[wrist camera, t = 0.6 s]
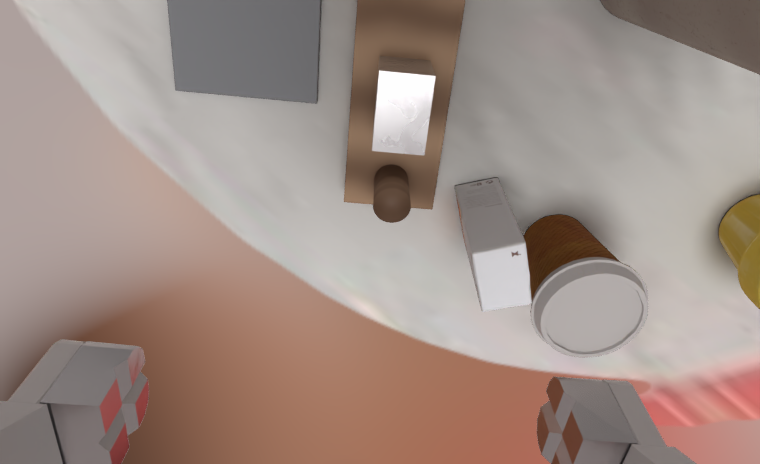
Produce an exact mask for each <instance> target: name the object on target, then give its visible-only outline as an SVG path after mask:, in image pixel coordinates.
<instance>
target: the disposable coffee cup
mask: <svg viewBox="0 0 760 464" xmlns="http://www.w3.org/2000/svg"><path fill="white" fill-rule="evenodd" d="M524 240H525V242H526V249H527V257H528V266H529V272H530V288H531V298H532V305H531V311H530V312H531V321H532V325H533V327H534V329H535V331H536V333H537V334H538V336H539V337H540V338H541V339H542V340H543V341H545V342H546V343H547V344H549V345H550V346H551V347H552V348H553V349H555V350H557V351H558V352H560V353H562V354H565V355H568V356H572V357H580V358H585V357H597V356H602V355H605V354H608V353H611V352H614V351H616V350H618V349H620V348H621V347H623V346H624V345H626V344H628V343H629V342H630V341H631V340H632V339H634V338H635V336H636V335H637V334H638V333H639V332H640V330H641V329H642V327H643V326H644V324H645V321H646V319H647V316H648V291H647V287H646V284H645V282H644V281H643V279H642V278H641V276H640V275H639V274H638V273H637V272H636V271H635V270H634V269H632V268H631V267H630V266H628V265H626V264H623V263H621V262H620V261H619V260H618V259H617V258H616V257H614V256H613V255H612V254H611V253H610V252H609V251H608V250H607V249H606V248H605V247H604V246H603V245H602V244H601V243H600V242H599V241H598V240H597V239H596V238H595V237H594V236H593V235H592V234H591V233H590V232H589V231H588V230H587V229H586V228H585V227H584V226H583V225H581V224H580V223H579V222H578V221H577V220H576V219H574V218H572V217H570V216H566V215H551V216H547V217H544V218H542V219H540V220H538V221H537V222H535V223H534V224H533V225H532V226H530V227H529V229H528V230H527V231H526V233H525V235H524Z"/></svg>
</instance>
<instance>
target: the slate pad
mask: <svg viewBox="0 0 760 464" xmlns="http://www.w3.org/2000/svg"><path fill="white" fill-rule="evenodd" d="M167 3H168V14H169V25H170V36H171V46H172V57H173V68H174V79H175V90H176V91H186V92H197V93H208V94H218V95H229V96H240V97H251V98H261V99H272V100H283V101H294V102H305V103H315V104H317V94H318V67H319V40H320V13H321V0H167Z"/></svg>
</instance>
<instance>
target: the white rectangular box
mask: <svg viewBox="0 0 760 464" xmlns="http://www.w3.org/2000/svg"><path fill="white" fill-rule="evenodd" d="M435 78H436V76H435V73H434V70H433V67H432V64H431V61H430V60H419V59H409V58H399V57H388V56H379V67H378V78H377V89H376V100H375V111H374V122H373V138H372V151H378V152H389V153H401V154H412V155H423V156H424V155H425V148H426V141H427V134H428V127H429V120H430V113H431V106H432V99H433V92H434V85H435Z"/></svg>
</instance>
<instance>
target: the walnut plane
mask: <svg viewBox="0 0 760 464" xmlns="http://www.w3.org/2000/svg"><path fill="white" fill-rule="evenodd" d="M464 6H465V0H358V2H357V17H356V31H355V46H354V61H353V76H352V90H351V105H350V120H349V134H348V149H347V164H346V179H345V193H344V202H351V203H363V204H373V209H374V212H375V214H376V215H377V217H378V218H380V219H381V220H383V221H385V222H390V223H393V222H398V221H401V220H403V219H404V218H405V217H406V216H407V215H408V214H409V212H410V209H411V208H421V209H432V208H433V202H434V195H435V189H436V183H437V176H438V170H439V164H440V157H441V151H442V145H443V138H444V132H445V126H446V120H447V113H448V107H449V101H450V94H451V88H452V82H453V75H454V69H455V63H456V56H457V50H458V44H459V37H460V31H461V25H462V19H463V12H464ZM379 56H388V57H399V58H409V59H419V60H430V61H431V64H432V67H433V70H434V73H435V76H436V78H435V85H434V92H433V99H432V106H431V113H430V120H429V127H428V134H427V141H426V148H425V155H424V156H423V155H412V154H401V153H389V152H378V151H372V138H373V122H374V111H375V100H376V89H377V78H378V67H379Z"/></svg>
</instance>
